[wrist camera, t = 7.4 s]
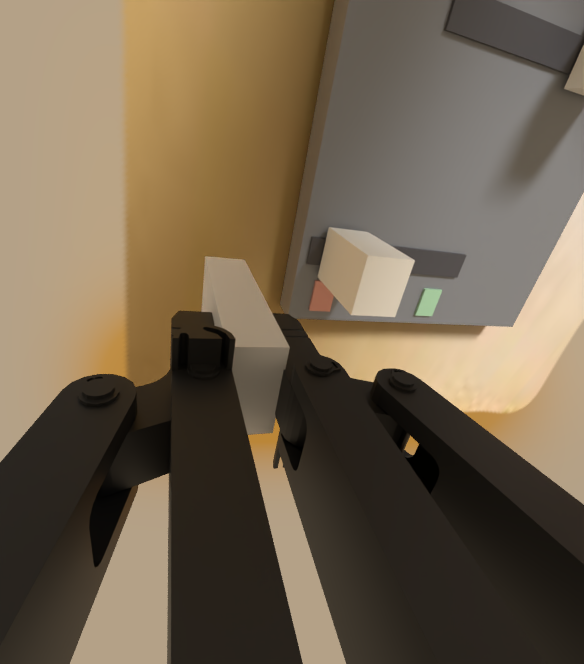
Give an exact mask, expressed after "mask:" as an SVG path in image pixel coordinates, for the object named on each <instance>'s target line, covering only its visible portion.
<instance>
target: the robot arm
mask: <svg viewBox="0 0 584 664" xmlns="http://www.w3.org/2000/svg"><path fill="white" fill-rule="evenodd" d="M275 418H276V419H277V421H278V424H279V427H280V432H279V436H278V441H277V446H276V451H275V455H274V460H273V468H278V463H279V459H280V457H281V459H282V462H283V467H284V468H285V471H286V475H287V478H288V481H289V484H290V487H291V490H292V494H293V496H294V500H295V503H296V506H297V509H298V512H299V516H300V518H301V521H302V525H303V528H304V531H305V534H306V538H307V541H308V544H309V547H310V550H311V553H312V557H313V560H314V563H315V566H316V569H317V572H318V576H319V579H320V582H321V585H322V588H323V591H324V595H325V598H326V601H327V604H328V607H329V610H330V613H331V616H332V620H333V623H334V626H335V629H336V632H337V635H338V639H339V642H340V645H341V648H342V651H343V655H344V658H345V661H346V664H584V505H583V504H582V503H581V502H579V501H578V500H577V499H575V498H574V497H573V496H572V495H570V494H569V493H568V492H566V491H565V490H564V489H562V488H561V487H560V486H558V485H557V484H556V483H555V482H553V481H552V480H551V479H549V478H548V477H547V476H545V475H544V474H543V473H541V472H540V471H539V470H537V469H536V468H535V467H534V466H532V465H531V464H530V463H528V462H527V461H526V460H525V459H523V458H522V457H521V456H519V455H518V454H517V453H515V452H514V451H513V450H512V449H510V448H509V447H508V446H506V445H505V444H504V443H502V442H501V441H500V440H498V439H497V438H496V437H495V436H493V435H492V434H491V433H489V432H488V431H486V430H485V429H484V428H483V427H482V426H480V425H479V424H478V423H476V422H475V421H474V420H472V419H471V418H470V417H468V416H467V415H466V414H464V413H463V412H462V411H461V410H459V409H458V408H457V407H455V406H454V405H453V404H452V403H450V402H449V401H448V400H446V399H445V398H444V397H442V396H441V395H440V394H438V393H437V392H436V391H435V390H433V389H432V388H431V387H429V386H428V385H427V384H425V383H424V382H423V381H421V380H420V379H419V378H417V377H415V376H414V375H412V374H410V373H407V372H405V371H404V370H400V369H399V370H398V369H383V370H380V371H378V373H377V375H376V377H375V380H374V382H368V381H363V380H358V379H353V378H350V377H349V375H348V374H347V372H346V371H345V369H344V368H343V367H342V366H341V365H340V364H339V363H338V362H336V361H334V360H332V359H331V358H328V357H325V356H321V355H320V354H319V353H318V351H317V350H316V348H315V346H314V345H313V343H312V342H311V340H310V338H308V335H307V334H306V332H305V331H304V329H303V327H302V326H301V324H300V322H299V321H298V320H296V319H295V318H293V317H292V316H291V315H289V314H275V313H272V312H271V310H270V308H269V306H268V304H267V302H266V300H265V298H264V296H263V294H262V292H261V290H260V289H259V287H258V285H257V283H256V281H255V279H254V277H253V275H252V273H251V271H250V269H249V267H248V265H247V263H246V261H245V260H243V259H232V258H220V257H209V256H205V267H204V282H203V297H202V311H201V312H194V311H178V312H177V313H176V314H175V315H174V316H173V318H172V324H171V364H170V370H169V372H168V373H167V374H166V375H165V376H164V377H163V378H161V379H160V380H158V381H156V382H154V383H150V384H147V385H144V386H139V387H135V386H134V384H133V382H131V381H130V380H128V379H127V378H125V377H122V376H118V375H114V374H97V375H92V376H87V377H83V378H81V379H79V380H76V381H74V382H72V383H70V384H69V385H68V386H67V387H65V388H64V389H63V390H62V391H61V392H60V393H59V394H58V396H57V397H56V398H55V399H54V400H53V401H52V403H51V404H50V405H49V406H48V407H47V408H46V410H45V411H44V412H43V413H42V414H41V415H40V417H39V418H38V419H37V420H36V421H35V423H34V424H33V425H32V426H31V427H30V428H29V429H28V431H27V432H26V433H25V434H24V435H23V437H22V438H21V439H20V440H19V441H18V442H17V444H16V445H15V446H14V447H13V448H12V450H11V451H10V452H9V453H8V454H7V455H6V456H5V458H4V459H3V460H2V461H1V462H0V664H70V661H71V659H72V656H73V654H74V651H75V649H76V646H77V644H78V641H79V638H80V636H81V633H82V630H83V628H84V626H85V623H86V621H87V618H88V615H89V613H90V610H91V608H92V605H93V603H94V600H95V597H96V595H97V593H98V590H99V587H100V585H101V582H102V580H103V577H104V575H105V572H106V570H107V567H108V564H109V562H110V559H111V557H112V554H113V551H114V549H115V547H116V544H117V541H118V539H119V536H120V534H121V531H122V528H123V526H124V524H125V521H126V519H127V516H128V513H129V511H130V508H131V506H132V503H133V501H134V498H135V496H136V493H137V490H138V485H139V484H141V483H144V482H146V481H149V480H152V479H154V478H157V477H160V476H162V475H165V474H168V473H169V528H168V538H169V539H168V641H167V649H168V650H167V664H303V663H302V659H301V655H300V651H299V646H298V642H297V638H296V634H295V630H294V626H293V621H292V618H291V613H290V609H289V605H288V601H287V597H286V592H285V588H284V584H283V580H282V576H281V572H280V568H279V563H278V559H277V555H276V551H275V547H274V542H273V538H272V534H271V531H270V526H269V522H268V518H267V513H266V510H265V506H264V501H263V497H262V493H261V489H260V484H259V480H258V476H257V472H256V468H255V464H254V459H253V455H252V451H251V447H250V443H249V439H248V435H251V434H263V433H273V428H274V423H275ZM410 435H411V436H412V437H413V438H414V439H415V440H416V441H417V442H418V443H419V446H418V448H417V450H416V452H415V454H414V455H410V454H409V453H407V452H406V451H405V450H404V449H405V446H406V444H407V442H408V440H409V437H410Z"/></svg>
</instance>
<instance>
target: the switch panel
mask: <svg viewBox="0 0 584 664" xmlns="http://www.w3.org/2000/svg"><path fill="white" fill-rule="evenodd" d="M583 45H584V0H335V1H334V7H333V12H332V18H331V23H330V29H329V34H328V40H327V46H326V51H325V57H324V62H323V68H322V73H321V79H320V84H319V90H318V96H317V101H316V107H315V112H314V118H313V123H312V129H311V134H310V140H309V146H308V151H307V157H306V162H305V168H304V173H303V179H302V184H301V190H300V195H299V201H298V207H297V212H296V218H295V223H294V229H293V234H292V240H291V245H290V251H289V257H288V262H287V268H286V273H285V279H284V284H283V290H282V295H281V301H280V306H281V308H282V309H283V311H284V313H285V314H289V315H291V316H292V317H293V318H295V319H320V320H346V321H373V322H400V323H426V324H453V325H479V326H506V327H513V325H514V323H515V321H516V319H517V317H518V315H519V313H520V311H521V310H522V308H523V306H524V304H525V302H526V300H527V298H528V296H529V294H530V292H531V291H532V289H533V287H534V285H535V283H536V281H537V279H538V277H539V275H540V274H541V272H542V270H543V268H544V266H545V264H546V262H547V260H548V258H549V257H550V255H551V253H552V251H553V249H554V247H555V245H556V243H557V241H558V239H559V238H560V236H561V234H562V232H563V230H564V228H565V226H566V224H567V222H568V221H569V219H570V217H571V215H572V213H573V211H574V209H575V207H576V205H577V203H578V202H579V200H580V198H581V196H582V194H583V192H584V95H581V94H578V93H575V92H572V91H569V90H566V89H564V87H565V85H566V83H567V81H568V78H569V76H570V74H571V72H572V69H573V67H574V65H575V63H576V61H577V58H578V56H579V54H580V52H581V49H582V47H583ZM329 227H333V228H341V229H349V230H357V231H364V232H369V233H371V234H372V235H374V236H375V237H377V238H379V239H380V240H382V241H384V242H385V243H387V244H389V245H390V246H392V247H394V248H395V249H397V250H399V251H400V252H402V253H404V254H405V255H407V256H409V257H410V258H412V259H414V260H415V262H414V265H413V268H412V270H411V273H410V276H409V279H408V282H407V285H406V288H405V290H404V293H403V296H402V299H401V302H400V305H399V307H398V310H397V313H396V316H395V317H381V316H358V315H350V313H349V312H348V311H347V310H346V309H345V308H344V307H343V305H342V304H341V303H340V302H339V301H338V300H337V299H336V298H335V296H334V295H333V294H332V293H331V292H330V291H329V290H328V288H327V287H326V286H325V285H324V284H323V283H322V282H321V280H320V279H319V278H318V273H319V268H320V264H321V260H322V255H323V251H324V246H325V242H326V237H327V233H328V228H329Z"/></svg>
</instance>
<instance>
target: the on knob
mask: <svg viewBox="0 0 584 664" xmlns="http://www.w3.org/2000/svg"><path fill="white" fill-rule="evenodd" d="M564 89H566V90H569V91H572V92H575V93H578V94H581V95H584V45H583V47H582V49H581V52H580V54H579V56H578V58H577V61H576V63H575V65H574V67H573V69H572V72H571V74H570V76H569V78H568V81H567V83H566V85H565V87H564Z"/></svg>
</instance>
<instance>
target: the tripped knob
mask: <svg viewBox="0 0 584 664" xmlns="http://www.w3.org/2000/svg"><path fill="white" fill-rule="evenodd" d="M414 262H415V260H414V259H412V258H410V257H409V256H407V255H405V254H404V253H402V252H400V251H399V250H397V249H395V248H394V247H392V246H390V245H389V244H387V243H385V242H384V241H382V240H380V239H379V238H377V237H375V236H374V235H372V234H371V233H369V232H364V231H357V230H349V229H341V228H333V227H329V228H328V233H327V237H326V242H325V246H324V251H323V255H322V260H321V264H320V268H319V273H318V278H319V279H320V280H321V282H322V283H323V284H324V285H325V286H326V287H327V288H328V290H329V291H330V292H331V293H332V294H333V295H334V296H335V298H336V299H337V300H338V301H339V302H340V303H341V304H342V305H343V307H344V308H345V309H346V310H347V311H348V312H349V313H350V315H358V316H381V317H395V316H396V313H397V310H398V307H399V305H400V302H401V299H402V296H403V293H404V290H405V288H406V285H407V282H408V279H409V276H410V273H411V270H412V268H413V265H414Z"/></svg>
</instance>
